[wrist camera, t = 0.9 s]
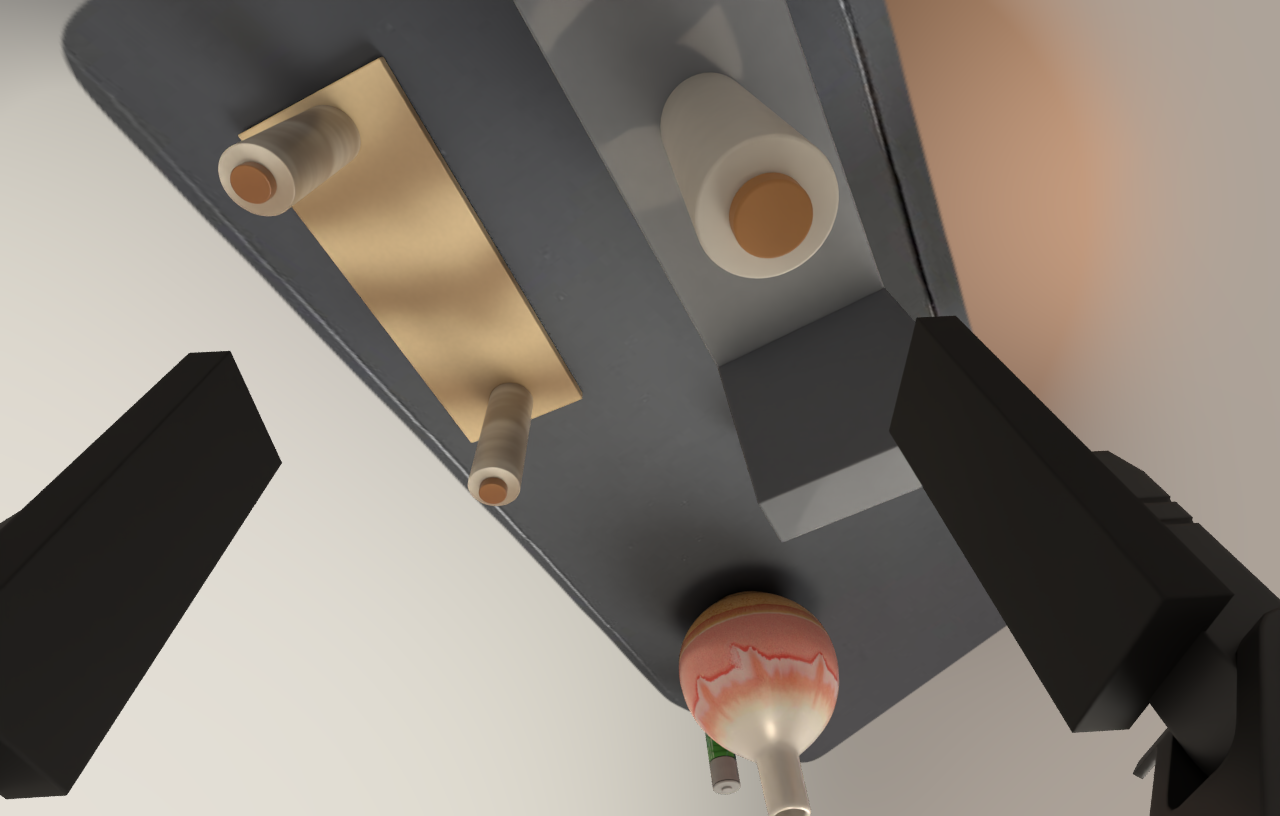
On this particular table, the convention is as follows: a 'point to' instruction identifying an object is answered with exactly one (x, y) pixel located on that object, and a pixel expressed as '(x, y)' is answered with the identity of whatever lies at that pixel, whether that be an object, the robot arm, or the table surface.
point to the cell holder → (410, 258)
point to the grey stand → (738, 306)
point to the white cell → (747, 178)
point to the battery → (722, 768)
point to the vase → (762, 687)
